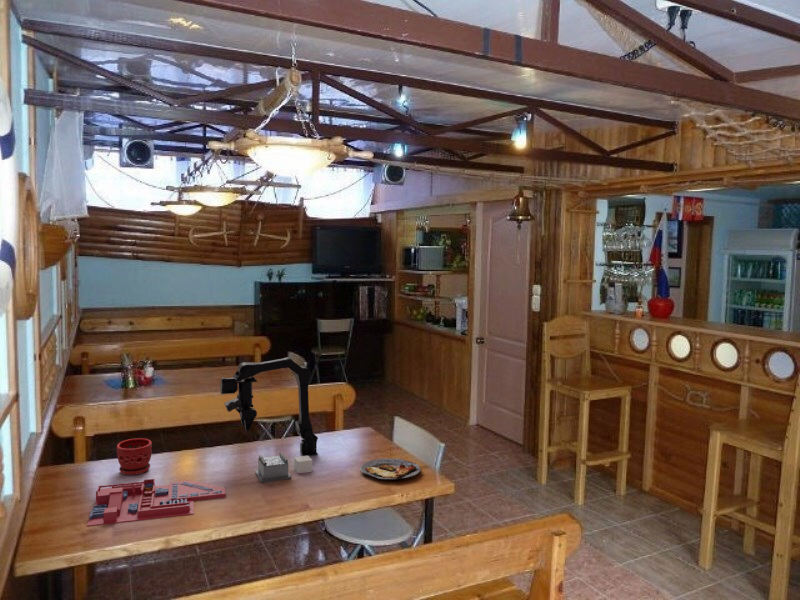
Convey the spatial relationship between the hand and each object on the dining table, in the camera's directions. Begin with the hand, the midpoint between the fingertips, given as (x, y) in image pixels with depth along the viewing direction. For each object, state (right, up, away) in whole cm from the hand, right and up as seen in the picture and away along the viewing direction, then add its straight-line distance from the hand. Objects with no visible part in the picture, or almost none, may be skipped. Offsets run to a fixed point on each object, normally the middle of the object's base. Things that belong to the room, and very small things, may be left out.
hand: (245, 428), depth 264 cm
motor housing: (+15, -16, -15) cm, 26 cm away
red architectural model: (-20, -18, -42) cm, 50 cm away
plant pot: (-42, -15, -13) cm, 46 cm away
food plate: (+63, -17, -8) cm, 65 cm away
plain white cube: (+26, -16, -8) cm, 31 cm away
